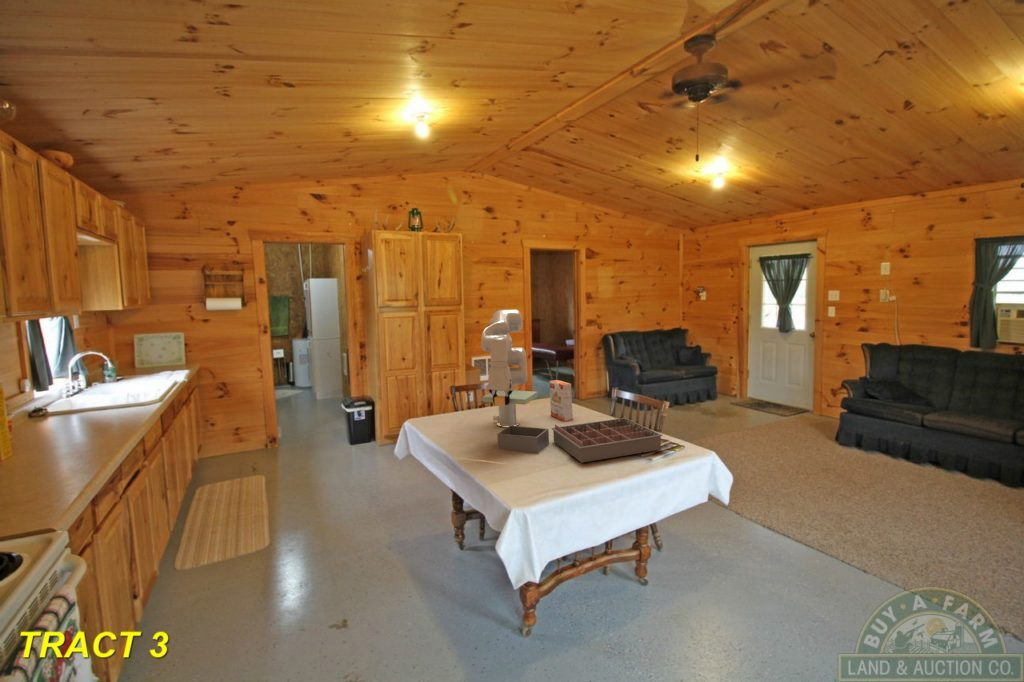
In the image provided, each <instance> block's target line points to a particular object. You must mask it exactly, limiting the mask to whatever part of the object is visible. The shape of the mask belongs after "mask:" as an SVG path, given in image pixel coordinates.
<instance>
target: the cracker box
mask: <svg viewBox="0 0 1024 682" xmlns="http://www.w3.org/2000/svg"><path fill="white" fill-rule="evenodd" d="M572 394H573V393H572V383H570V382H565V381H563V380H559V379H554V380H549V401H550V417H552V416H553V418H555V417H556V418H555V419H557V418H558V420H560V421H562V420H563V421H562V422H568V421H569V422H570V421H573V419H574V418H573V397H572Z"/></svg>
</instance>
